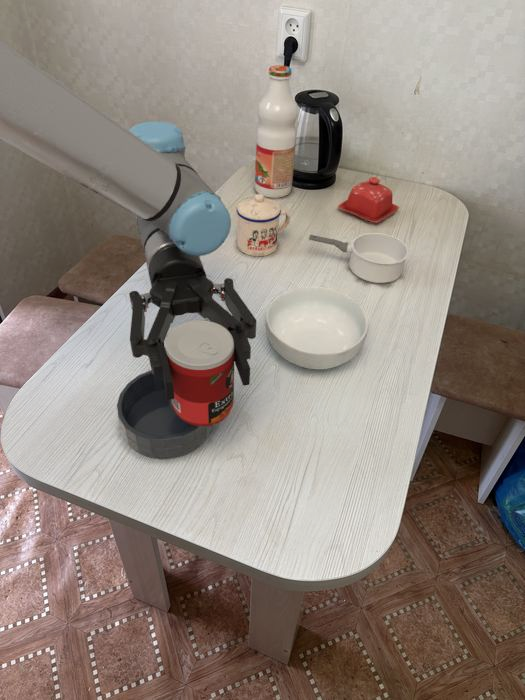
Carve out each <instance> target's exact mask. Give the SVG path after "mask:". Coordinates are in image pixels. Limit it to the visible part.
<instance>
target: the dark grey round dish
mask: <svg viewBox="0 0 525 700" xmlns="http://www.w3.org/2000/svg"><path fill="white" fill-rule="evenodd" d="M116 410H117V417H118V422H119V425H120V430H121V434H122V436H123V437H124V440H125V442H126V444H127V445H128V446H129V447H130V448H131V449H132V450H134V451H135V452H136V453H137V454H139V455H142V456H144V457H146V458H150V459H155V460H171V459H177V458H181V457H184V456H187V455H189V454H191V453H192V452H194V451H196V450H197V449H199V448H200V447H201V446H202V445H203V444H204V443H205V442H206V441H207V439H208V438H209V436H210V435H211V433H212V430H213V428H214V425H211V426H195V425H191V424H189V423H187V422H185V421H183V420H182V419H181V418H180V417H179V416H178V415H177V413H176V412H175V410H174V408H173V405H172V399H171V400H168V398H167V394H166V389H165V384H164V379H163V374H161V375H155V376H154V375H153V374H152V371H151V369H150V370H148V371H146V372H143V373H140V374H138V375H137V376H135V377H134V378H133V379H131V380H130V381H129V382H128V383H127V384H126V385H125V386H124V388H123V389H122V391H121V392H120V393H119V396H118V400H117V403H116Z"/></svg>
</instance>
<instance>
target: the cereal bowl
mask: <svg viewBox="0 0 525 700" xmlns="http://www.w3.org/2000/svg"><path fill="white" fill-rule="evenodd" d="M368 320H369V319H368V315H367V313H366V311H365V309H364V308H363V306H362V305H361V304H360V303H359V302H358V301H357V300H356V299H354V298H353V297H351V296H350V295H348V294H346V293H345V292H343V291H340V290H338V289H334V288H331V287H327V286H319V285H318V286H317V285H303V286H297V287H293V288H289V289H287V290H284V291H283V292H281V293H279V294H277V295H275V297H273V299H272V300H271V301H270V303H269V304H268V306H267V308H266V311H265V325H264V326H265V330H266V335H267V339H268V341H269V343H270V344H271V346H272V348H273V349H274V350H275V351H276V353H277V354H278V355H280V357H282V358H283V359H284V360H286V361H288V362H289V363H291V364H293V365H296V366H297V367H301V368H305V369H310V370H311V369H312V370H326V369H327V370H328V369H332V368H336V367H339V366H341V365H344V364H345V363H348V361H350V360H351V359H353V358H354V357H356V355H358V353H359V352H360V351H361V349H362V347H363V345H364V344H365V341H366V338H367V335H368V330H369V321H368Z"/></svg>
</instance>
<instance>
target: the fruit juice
mask: <svg viewBox="0 0 525 700" xmlns="http://www.w3.org/2000/svg"><path fill="white" fill-rule="evenodd" d="M268 77H269V83H268V86H267V87H268V88H267V90H266V93H265V95H264V96H263V97H262V99H261V100H260V101H259V103H258V107H257V117H258V122H259V123H258V126H257V129H256V135H255V164H254V170H255V171H254V189H255V192H256V194H262V195H263V196H264V198H269V199H277V198H278V199H279V198H284V197H286V196H288V195H290V193H291V192H292V187H293V179H294V178H293V177H294V165H295V153H296V144H297V131H296V126H295V124H296V121H297V118H298V114H299V113H298V112H299V111H298V105H297V103H296V101H295V99H294V98H293V95H292V92H291V87H290V86H291V85H290V79H291V77H292V68H291V67H290V66H287V65H280V64H279V65H276V64H275V65H271V66H269V68H268Z"/></svg>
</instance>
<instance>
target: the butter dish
mask: <svg viewBox="0 0 525 700" xmlns="http://www.w3.org/2000/svg"><path fill="white" fill-rule="evenodd" d="M380 181H381V180H380V179H379V178H378V177H374V176H371V177H369V178H368V180H367V181H361V182H360V183H358V184H356V185H355V186H353V188H352V189H351V190H350V192H349V194H348V197H347V199H346V200H343V202H341V203H339V204H338V206H337V208H338V209H339V210H341V211H344V212H346V213H349V214H351V215H354V216H356V217H359V218H360V219H363V220H365V221H368V222H370V223H374V224H377V223H380V222H381V221H384V219H386V218H388V217H389V216H391V215H392V214H394V213H395V212H397V211H398V210H399V209H400V207H399V206H398V205H397V204H394V203H393V191H392V190H391V189H390V188H389V187H387V186H386V185H383V184H382V183H380Z"/></svg>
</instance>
